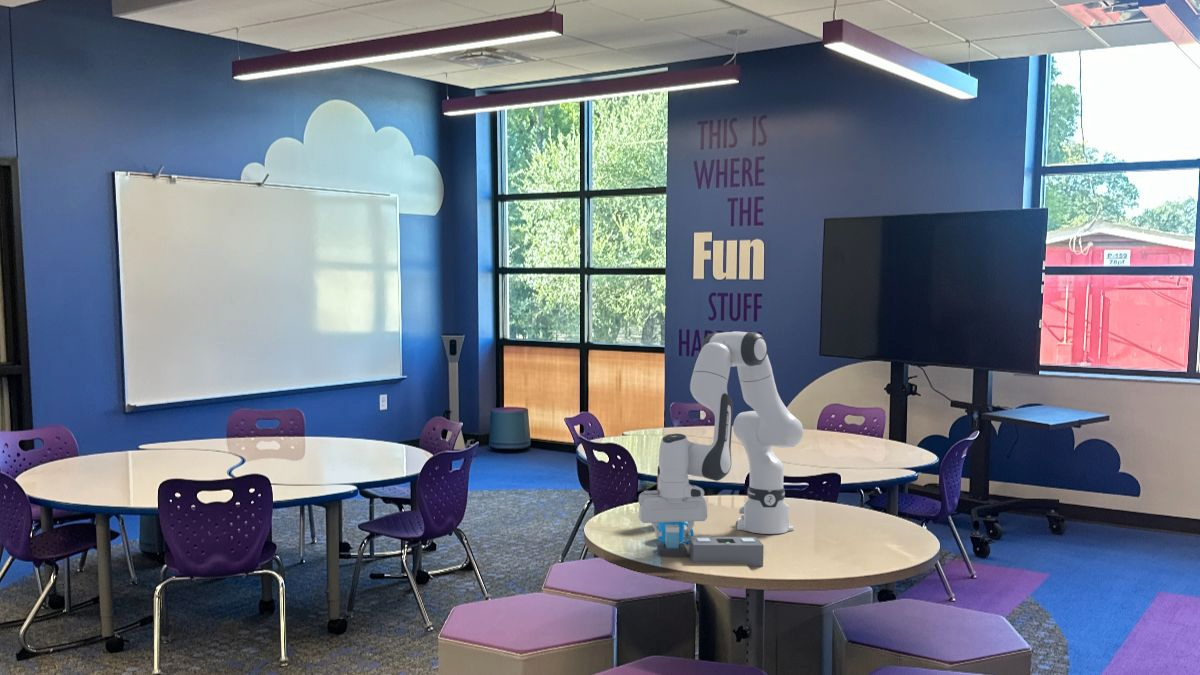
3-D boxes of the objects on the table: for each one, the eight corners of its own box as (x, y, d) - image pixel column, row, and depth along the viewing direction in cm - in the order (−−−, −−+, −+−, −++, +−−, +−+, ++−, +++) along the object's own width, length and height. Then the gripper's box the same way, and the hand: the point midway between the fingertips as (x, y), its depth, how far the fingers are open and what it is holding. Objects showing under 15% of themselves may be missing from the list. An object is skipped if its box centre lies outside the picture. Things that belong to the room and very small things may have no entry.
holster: (656, 553, 288) (657, 543, 288) (683, 553, 288) (683, 543, 288) (659, 560, 280) (659, 549, 280) (687, 560, 280) (687, 550, 280)
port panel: (688, 556, 284) (689, 535, 284) (756, 557, 285) (756, 535, 285) (693, 565, 274) (693, 543, 274) (763, 566, 275) (763, 543, 275)
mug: (652, 543, 299) (653, 517, 299) (666, 538, 306) (666, 513, 306) (686, 550, 293) (687, 523, 292) (699, 544, 299) (700, 518, 299)
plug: (665, 551, 286) (665, 524, 286) (677, 551, 286) (677, 524, 286) (666, 554, 282) (666, 527, 282) (678, 554, 282) (679, 527, 282)
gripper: (641, 493, 278) (640, 540, 279) (709, 491, 282) (708, 538, 283) (636, 488, 285) (635, 535, 285) (703, 486, 288) (702, 532, 289)
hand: (672, 536), depth 284 cm, fingers open, 7 cm apart
